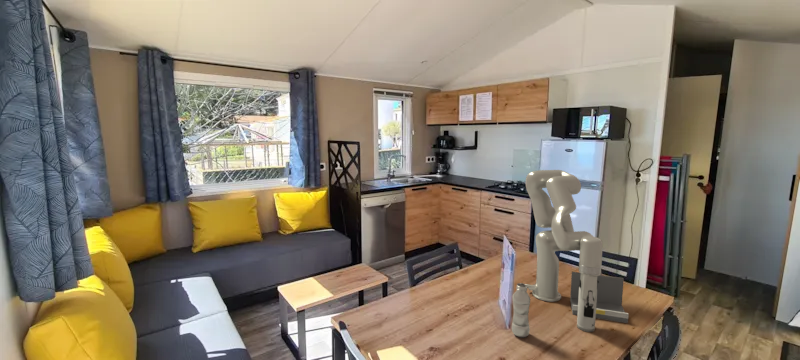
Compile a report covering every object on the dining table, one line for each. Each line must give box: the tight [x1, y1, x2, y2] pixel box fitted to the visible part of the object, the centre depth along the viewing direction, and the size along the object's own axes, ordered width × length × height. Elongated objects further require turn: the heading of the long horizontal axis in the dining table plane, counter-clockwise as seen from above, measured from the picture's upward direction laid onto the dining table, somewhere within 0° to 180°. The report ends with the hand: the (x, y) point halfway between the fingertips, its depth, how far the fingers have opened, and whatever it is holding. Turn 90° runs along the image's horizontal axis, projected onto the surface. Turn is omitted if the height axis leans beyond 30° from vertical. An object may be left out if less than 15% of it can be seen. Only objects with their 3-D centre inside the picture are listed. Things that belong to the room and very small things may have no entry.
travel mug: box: [576, 280, 599, 333], centre depth 135 cm, size 6×7×20 cm
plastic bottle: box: [511, 282, 531, 338], centre depth 131 cm, size 6×7×20 cm
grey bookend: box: [569, 271, 629, 324], centre depth 148 cm, size 20×13×14 cm, turn 68°
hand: (587, 311), depth 136 cm, fingers open, 6 cm apart
